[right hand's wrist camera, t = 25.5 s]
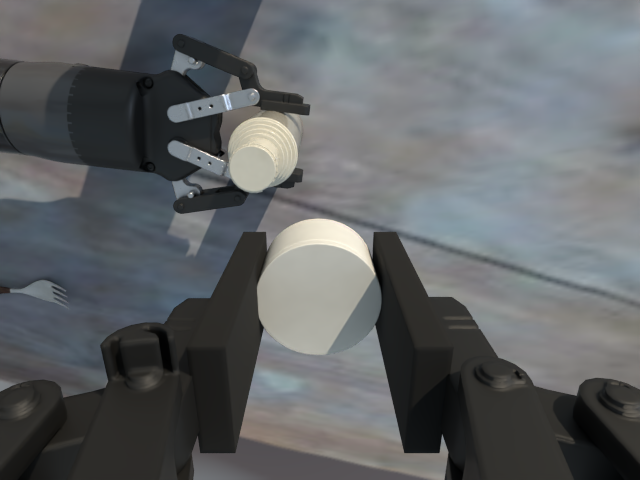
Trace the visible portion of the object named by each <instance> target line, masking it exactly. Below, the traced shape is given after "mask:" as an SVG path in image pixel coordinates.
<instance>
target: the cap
mask: <svg viewBox="0 0 640 480" xmlns="http://www.w3.org/2000/svg"><path fill="white" fill-rule="evenodd" d="M257 296H258V313H259V319H260V322H261V324H262V325H263V327H264V328H265V330H266V331H267V332H268V334H269V335H270V336H271V337H272V338H273V339H275V340H276V341H277V342H278V343H280V344H281V345H283V346H285V347H286V348H288V349H290V350H293V351H296V352H299V353H303V354H308V355H329V354H334V353H338V352H341V351H344V350H346V349H349V348H351V347H352V346H354V345H356V344H357V343H359V342H360V341H361V340H363V339H364V338H365V337H366V336H367V335H368V334H369V332H370V331H371V330H372V328H373V327H374V325H375V323H376V322H377V319H378V317H379V314H380V310H381V304H382V293H381V287H380V284H379V280H378V277H377V274H376V270H375V267H374V264H373V260H372V257H371V254H370V251H369V249H368V247H367V245H366V243H365V242H364V241H363V239H362V238H361V237H360V236H359V235H358V234H357V233H356V232H355V231H354V230H352V229H351V228H349V227H348V226H346V225H344V224H342V223H339V222H336V221H333V220H327V219H309V220H304V221H301V222H298V223H295V224H293V225H291V226H289V227H288V228H286V229H285V230H283V231H282V232H281V233H280V234H279V235H278V236H277V237H276V238H275V239H274V240H273V242H272V244H271V245H270V247H269V249H268V251H267V254H266V257H265V261H264V264H263V267H262V271H261V274H260V277H259V281H258V284H257Z"/></svg>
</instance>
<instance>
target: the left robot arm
mask: <svg viewBox="0 0 640 480" xmlns="http://www.w3.org/2000/svg"><path fill="white" fill-rule="evenodd" d="M173 46H174V48H175V54H174V58H173V62H172V66H171V70H167V71H164V72H162V73H160V74H156V75H154V74H146V73H138V72H130V71H122V70H114V69H106V68H99V67H91V66H88V65H84V64H67V63H59V62H24V61H16V60H8V59H0V152H3V153H12V154H20V155H30V156H35V157H40V158H44V159H47V160H52V161H57V162H63V163H71V164H80V165H89V166H97V167H106V168H114V169H123V170H132V171H141V172H150V173H156V174H158V175H161V176H162V177H164V178H165V179H167V180H169V181H172V184H173V188H174V191H175V195H176V199H177V200H176V201H175V202H174V205H173V207H174V210H175V211H176V212H178V213H180V214H184V213H191V212H197V211H204V210H211V209H218V208H225V207H232V206H239V205H242V204H243V203H244V202H245V200H246V198H247V196H248V194H249V192H246V191H244V190H242V189H240V188H238V187H237V186H236V185H233V186H226V187H219V188H212V189H205V190H203V189H202V187H201V186H200V185H199V184H193V183H190V182H188V181H187V179H186V177H187V176H189V175H191V174H192V173H194V172H196V171H197V170H199V169H201V168H204V169H206V170H208V171H210V172H213V173H215V174H217V175H220V176H226V177H228V178H230V174H229V171H228V163H229V158H228V152H227V151H225V150H223V149H221V137H220V132H219V130H220V127H221V124H222V112H226V111H230V110H234V109H239V108H243V107H248V106H259V107H261V110H267V111H276V112H283V113H292V114H300V115H309V112H310V105H309V104H303V97H302V96H300V95H299V94H294V93H287V92H279V91H271V90H266V89H264V88H262V87H261V85H260V83H259V80H258V76H257V68H256V66H255V65H254V64H253V63H250V62H248V61H246V60H243V59H241V58H239V57H236V56H234V55H232V54H229V53H227V52H225V51H222V50H220V49H218V48H215V47H213V46H211V45H208V44H206V43H204V42H201V41H199V40H197V39H194V38H192V37H189V36H186V35H182V34H178V35H176V36H175V37H174V38H173ZM205 63H206V64H209V65H211V66H213V67H216V68H218V69H220V70H223V71H225V72H228V73H230V74H232V75H235V76H237V77H239V80H240V83H241V87H242V90H241V91H237V92H232V93H228V94H223V95H219V96H214V97H210V96H209V95H208V94H207V93H206V92H205V91H204V90H203V89H201V88H200V87H199V86H198V85H197V84H196V83H195V82H194V81H193V80H191V79H190V78H189V77H188V76H187V75H186V73H187V71H188V70H190V69H197V70H199V69H202V68H203V67H204V65H205ZM218 155H219V157H218ZM211 163H212V164H211ZM302 176H303V170H302V169H299V168H295V169H294V171H293V172H292V174H291V175H290V176H289V178H288V179H286V180H285V181H284V182H282V183H281V184H279V185H276V186H273V187H279V188H287V189H288V188H291V187H294V183H295V182H302ZM230 179H231V178H230Z"/></svg>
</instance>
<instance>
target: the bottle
mask: <svg viewBox="0 0 640 480" xmlns="http://www.w3.org/2000/svg"><path fill="white" fill-rule="evenodd" d="M302 134H303V126H302V122H301V119H300V117H299V116H298V114H292V113H283V112H276V111H267V110H261V111H260V112H258V113H257V114H255V115H254V116H252V117H251V118H249V119H248V120H246V121H245V122H243V123H242V124H240V125H239V126H238V127H237V128H236V129H235V130H234V132H233V133H232V135H231V137H230V140H229V143H228V158H229V163H228V171H229V174H230V178H231V179H232V181H233V182H234V184H235V185H236V186H237V187H238V188H240V189H242V190H244V191H246V192H250V193H259V192H263V190H264V189H266V188H268V187H273V186H276V185H279V184H281V183H282V182H284V181H285V180H286V179H288V178H289V176H290V175H291V174H292V172H293V171H294V169H295V167H296V164H297V159H298V154H299V149H300V144H301V139H302Z"/></svg>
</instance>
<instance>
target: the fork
mask: <svg viewBox="0 0 640 480" xmlns="http://www.w3.org/2000/svg"><path fill="white" fill-rule="evenodd" d="M52 286H54V287H57V288H59V289H61V290H63V291H65V292H66V290H65V289H63V288H62V287H60V286H58V285H56V284H54V283H52V282H50V281H47V280H39V281H36V282H34V283H32V284H30V285H29V286H27V287H25V288H22V289H14V288H6V287H0V294H1V293H24V294H27V295H31V296H33V297H36V298H39V299H42V300H46V301H50V302H54V303H57V304H59V305H62V306H64V307H66V308H67V309H70V308H69V307H67V306H66V305H64V304H63V303H61V302H59V301H57V300H55V299H54V297H55V298H58V299H60V300H62V301H64V302H66V303H69V302H68V301H66V300H64V299H63V298H61V297H59V296H57V295H56V294H54V293H53V292H56V293H58V294H60V295H63V296H64V297H68V296H66V295H65V294H63V293H61V292H60V291H58V290H56V289H54V288H53V287H52Z"/></svg>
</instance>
